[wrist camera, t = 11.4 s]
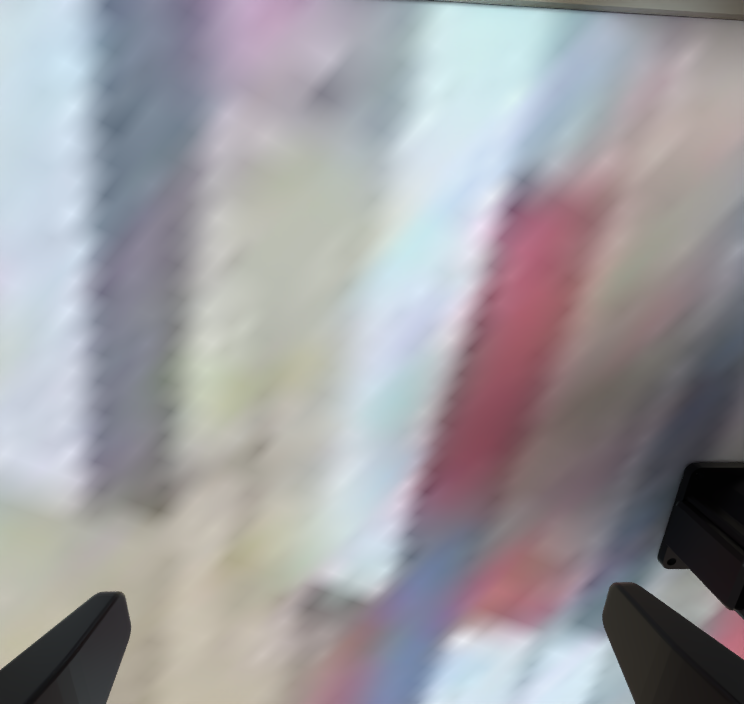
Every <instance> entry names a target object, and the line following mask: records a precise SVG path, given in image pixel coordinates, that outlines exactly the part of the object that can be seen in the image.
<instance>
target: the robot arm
mask: <svg viewBox="0 0 744 704" xmlns="http://www.w3.org/2000/svg"><path fill="white" fill-rule="evenodd" d="M658 561H659V562H660V563H661V564H662V566H663V567H664V568H666V569H690V570H691V571H692V572H693V573H694V574H695V575H696V576H697V577H698V578H699V579H700V580H701V581H702V582H703V584H704V585H705V586H706V587H707V588H708V589H709V590H710V591H711V592H712V593H713V594H714V595H715V596H716V597H717V598H718V599H719V600H720V602H721V603H722V604H723V605H724V606H725V607H726V608H727V609H729V610H735V611H736V612H737V613H738V614H739V615H740V616H741V617H742V618H743V619H744V463H694V464H691V465H689V466H688V467H687V468H686V470H685V471H684V475H683V478H682V481H681V484H680V487H679V491H678V494H677V497H676V500H675V503H674V506H673V510H672V513H671V516H670V519H669V522H668V526H667V529H666V532H665V535H664V538H663V541H662V545H661V548H660V551H659V554H658ZM602 620H603V625H604V628H605V631H606V634H607V636H608V638H609V641H610V643H611V646H612V648H613V651H614V653H615V655H616V658H617V660H618V663H619V665H620V668H621V670H622V672H623V675H624V677H625V680H626V682H627V685H628V687H629V689H630V692H631V694H632V697H633V699H634V702H635V704H744V660H743V659H742V658H740V657H739V656H738V655H736V654H735V653H733V652H732V651H731V650H729V649H728V648H726V647H725V646H724V645H722V644H721V643H719V642H718V641H717V640H715V639H714V638H712V637H711V636H709V635H708V634H707V633H705V632H704V631H702V630H701V629H700V628H698V627H697V626H695V625H694V624H693V623H691V622H690V621H688V620H687V619H686V618H684V617H683V616H681V615H680V614H679V613H677V612H676V611H674V610H673V609H672V608H670V607H669V606H667V605H666V604H665V603H663V602H662V601H660V600H659V599H658V598H656V597H655V596H653V595H652V594H650V593H649V592H648V591H646V590H645V589H643V588H642V587H641V586H639V585H637V584H635V583H632V582H618V583H613V584H612V585H611V586H610V588H609V591H608V595H607V599H606V602H605V606H604V610H603V614H602ZM130 633H131V622H130V617H129V612H128V607H127V602H126V598H125V595H124V594H123V593H122V592H119V591H118V592H99V593H97V594H95V595H94V596H92V597H91V598H90V599H89V600H87V601H86V602H85V603H84V604H82V605H81V606H80V607H79V608H77V609H76V610H75V611H74V612H72V613H71V614H70V615H69V616H67V617H66V618H65V619H63V620H62V621H61V622H60V623H58V624H57V625H56V626H55V627H53V628H52V629H51V630H50V631H48V632H47V633H46V634H45V635H43V636H42V637H41V638H40V639H38V640H37V641H36V642H35V643H33V644H32V645H31V646H30V647H28V648H27V649H26V650H25V651H23V652H22V653H21V654H20V655H18V656H17V657H16V658H15V659H13V660H12V661H11V662H10V663H8V664H7V665H6V666H5V667H3V668H2V669H1V670H0V704H106V702H107V700H108V697H109V694H110V691H111V688H112V686H113V683H114V680H115V677H116V675H117V672H118V669H119V666H120V663H121V661H122V658H123V655H124V652H125V649H126V647H127V644H128V641H129V638H130Z"/></svg>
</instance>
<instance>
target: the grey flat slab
mask: <svg viewBox="0 0 744 704" xmlns="http://www.w3.org/2000/svg"><path fill="white" fill-rule="evenodd" d="M436 1H452V2H468V3H483V4H499V5H515V6H530V7H546V8H562V9H577V10H593V11H609V12H624V13H640V14H656V15H671V16H687V17H703V18H718V19H734V20H744V0H436Z"/></svg>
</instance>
